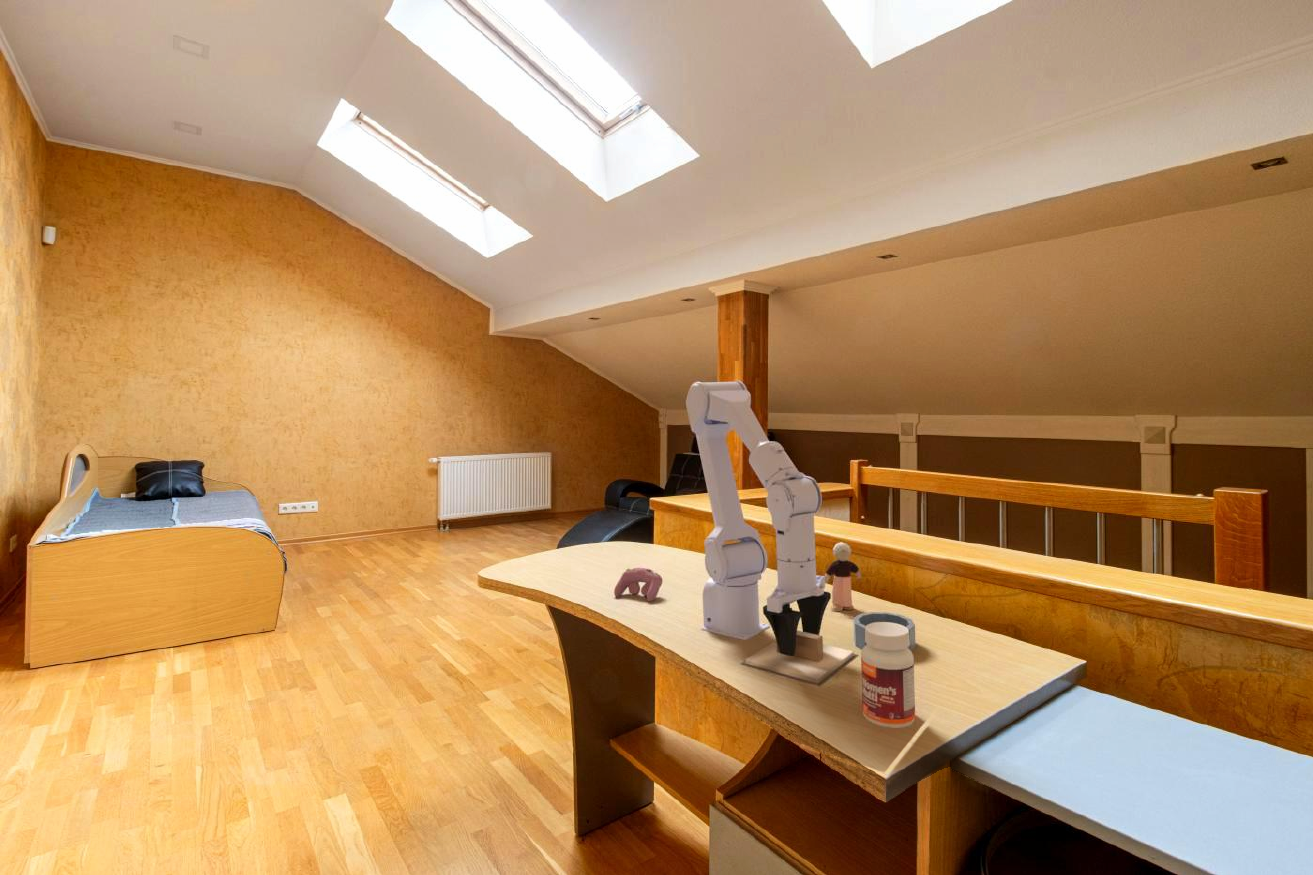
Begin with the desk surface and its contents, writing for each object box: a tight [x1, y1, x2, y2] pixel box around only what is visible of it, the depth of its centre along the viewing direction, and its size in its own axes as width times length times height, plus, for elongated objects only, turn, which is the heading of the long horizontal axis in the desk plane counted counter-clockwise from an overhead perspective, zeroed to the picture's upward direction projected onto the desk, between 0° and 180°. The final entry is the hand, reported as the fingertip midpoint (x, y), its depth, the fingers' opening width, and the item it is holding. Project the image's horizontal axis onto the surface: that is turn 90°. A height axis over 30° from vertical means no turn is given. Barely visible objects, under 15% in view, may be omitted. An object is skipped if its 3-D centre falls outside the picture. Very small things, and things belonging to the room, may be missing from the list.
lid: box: [744, 630, 855, 683], centre depth 95 cm, size 12×12×4 cm
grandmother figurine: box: [823, 542, 862, 612], centre depth 119 cm, size 8×4×13 cm, turn 112°
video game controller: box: [613, 567, 664, 602], centre depth 133 cm, size 10×5×7 cm, turn 58°
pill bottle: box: [860, 622, 916, 729], centre depth 77 cm, size 6×6×11 cm
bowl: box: [852, 611, 917, 653], centre depth 100 cm, size 9×9×4 cm
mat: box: [740, 653, 859, 687], centre depth 95 cm, size 13×13×1 cm
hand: (799, 646), depth 95 cm, fingers open, 7 cm apart
